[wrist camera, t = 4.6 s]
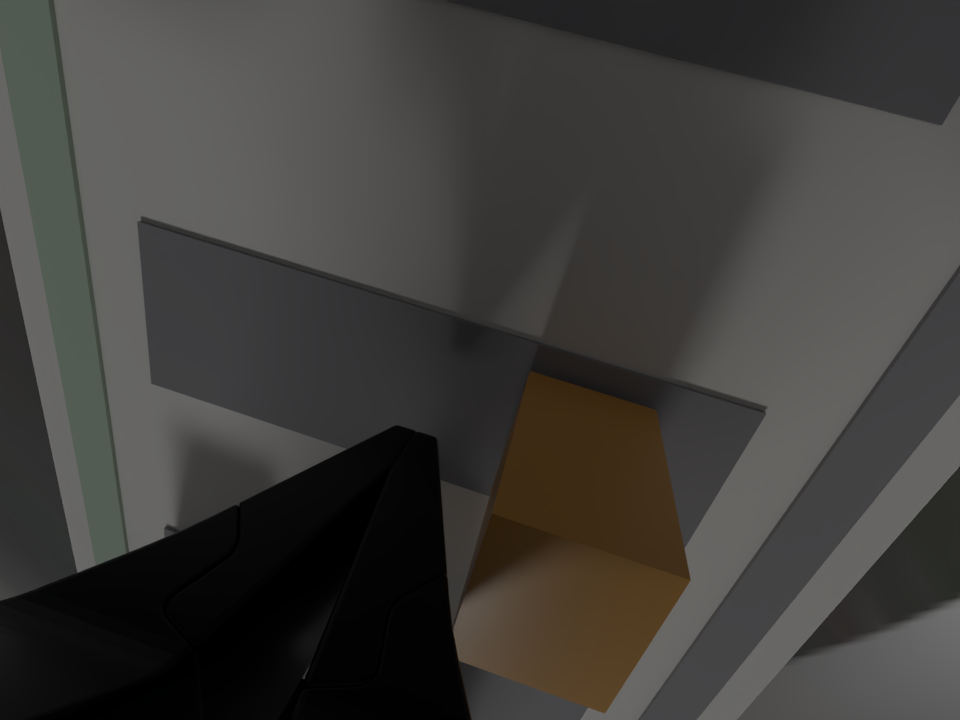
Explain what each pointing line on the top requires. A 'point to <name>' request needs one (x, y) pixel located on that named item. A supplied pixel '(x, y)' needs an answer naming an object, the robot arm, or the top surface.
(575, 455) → the orange block
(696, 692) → the panel
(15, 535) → the top surface
